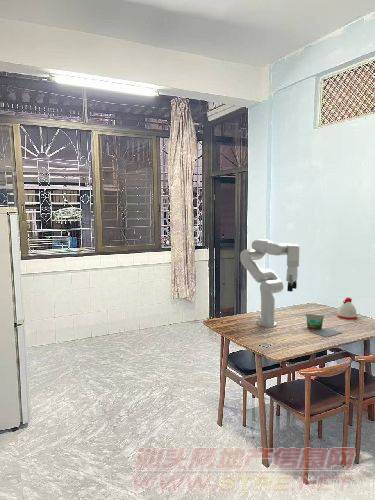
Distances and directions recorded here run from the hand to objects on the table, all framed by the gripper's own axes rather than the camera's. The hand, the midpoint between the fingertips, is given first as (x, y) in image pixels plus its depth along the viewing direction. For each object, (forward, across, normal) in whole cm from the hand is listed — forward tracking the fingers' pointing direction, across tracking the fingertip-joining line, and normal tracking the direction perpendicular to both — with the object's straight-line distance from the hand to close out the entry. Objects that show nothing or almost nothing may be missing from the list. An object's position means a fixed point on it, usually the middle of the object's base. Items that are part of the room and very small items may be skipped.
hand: (292, 289), depth 238 cm
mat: (+29, -12, +20) cm, 37 cm away
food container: (+29, -16, +12) cm, 35 cm away
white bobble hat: (+29, -59, +27) cm, 71 cm away
